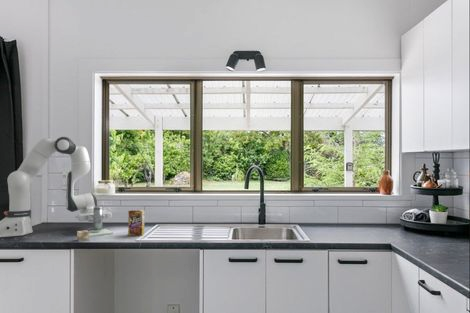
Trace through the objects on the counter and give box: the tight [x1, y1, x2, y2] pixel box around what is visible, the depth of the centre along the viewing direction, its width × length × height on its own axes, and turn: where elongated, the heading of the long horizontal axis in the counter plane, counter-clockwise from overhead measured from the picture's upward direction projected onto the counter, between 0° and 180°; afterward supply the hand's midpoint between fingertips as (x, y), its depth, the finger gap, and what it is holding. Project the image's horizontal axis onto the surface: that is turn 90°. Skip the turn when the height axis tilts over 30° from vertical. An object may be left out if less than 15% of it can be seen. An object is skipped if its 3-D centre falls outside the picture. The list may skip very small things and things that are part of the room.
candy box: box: [127, 209, 146, 237], centre depth 201 cm, size 9×4×15 cm, turn 84°
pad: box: [88, 228, 114, 238], centre depth 205 cm, size 14×14×1 cm
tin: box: [92, 206, 104, 231], centre depth 205 cm, size 5×5×14 cm
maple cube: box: [76, 229, 90, 242], centre depth 188 cm, size 5×5×5 cm
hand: (98, 217), depth 205 cm, fingers closed on tin, 5 cm apart
